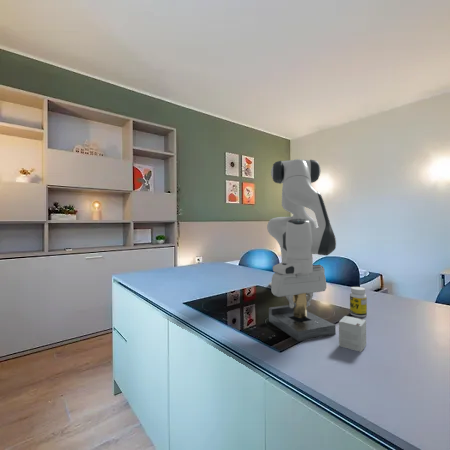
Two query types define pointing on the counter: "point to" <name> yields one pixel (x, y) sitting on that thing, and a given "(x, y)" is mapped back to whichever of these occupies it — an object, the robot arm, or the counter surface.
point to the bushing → (300, 305)
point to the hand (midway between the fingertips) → (299, 306)
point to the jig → (300, 324)
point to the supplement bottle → (358, 302)
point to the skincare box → (352, 333)
